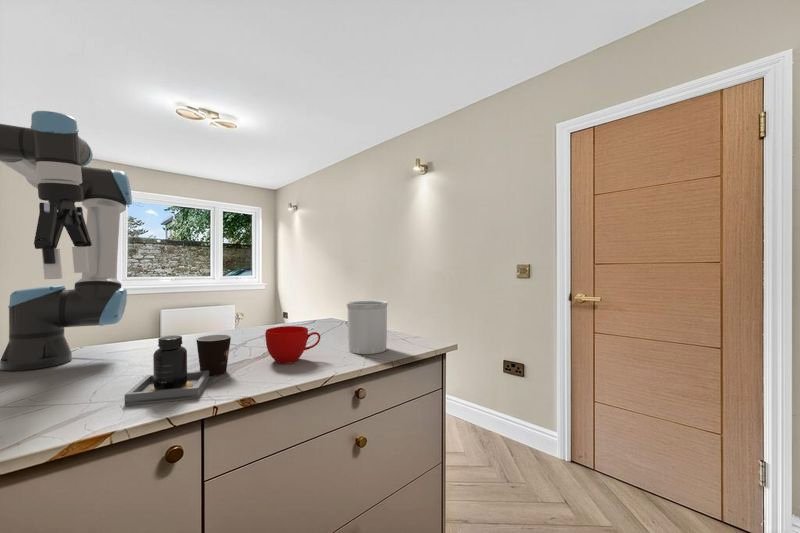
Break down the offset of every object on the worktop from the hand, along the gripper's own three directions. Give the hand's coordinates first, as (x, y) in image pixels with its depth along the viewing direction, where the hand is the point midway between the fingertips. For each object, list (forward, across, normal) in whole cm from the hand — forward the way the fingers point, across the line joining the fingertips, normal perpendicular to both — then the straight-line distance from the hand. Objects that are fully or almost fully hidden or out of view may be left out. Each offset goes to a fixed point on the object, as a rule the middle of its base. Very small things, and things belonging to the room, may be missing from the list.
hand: (68, 275), depth 83 cm
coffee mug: (+30, -4, +30) cm, 42 cm away
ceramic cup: (+31, -9, +51) cm, 60 cm away
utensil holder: (+33, -15, +77) cm, 85 cm away
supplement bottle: (+27, +9, +21) cm, 35 cm away
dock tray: (+28, +9, +21) cm, 36 cm away
